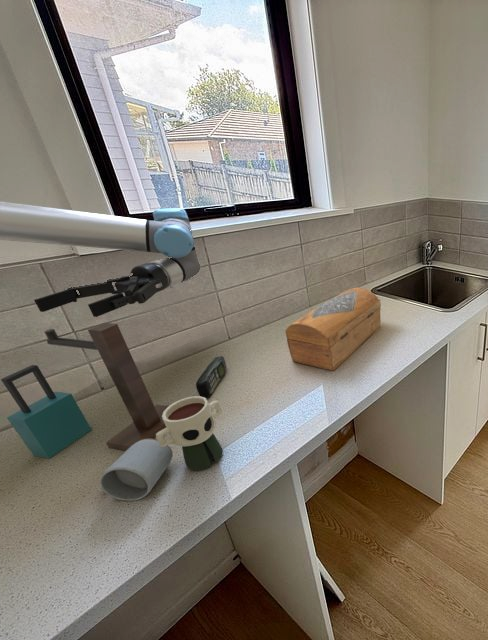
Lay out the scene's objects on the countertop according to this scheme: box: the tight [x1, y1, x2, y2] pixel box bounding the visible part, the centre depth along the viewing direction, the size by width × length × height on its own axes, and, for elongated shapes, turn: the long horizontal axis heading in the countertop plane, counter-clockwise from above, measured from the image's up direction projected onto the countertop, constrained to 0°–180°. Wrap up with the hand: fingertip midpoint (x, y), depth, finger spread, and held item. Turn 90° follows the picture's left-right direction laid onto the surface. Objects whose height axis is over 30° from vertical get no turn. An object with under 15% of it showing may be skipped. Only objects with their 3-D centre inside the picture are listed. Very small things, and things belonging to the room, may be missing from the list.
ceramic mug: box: [98, 438, 174, 502], centre depth 60 cm, size 11×8×8 cm
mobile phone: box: [195, 356, 227, 399], centre depth 88 cm, size 5×3×15 cm
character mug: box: [155, 395, 224, 471], centre depth 64 cm, size 11×7×13 cm, turn 149°
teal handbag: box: [0, 364, 92, 459], centre depth 66 cm, size 4×8×18 cm, turn 171°
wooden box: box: [285, 287, 382, 371], centre depth 106 cm, size 30×16×14 cm, turn 159°
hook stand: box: [43, 322, 169, 452], centre depth 69 cm, size 18×12×26 cm
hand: (64, 308), depth 69 cm, fingers open, 13 cm apart
